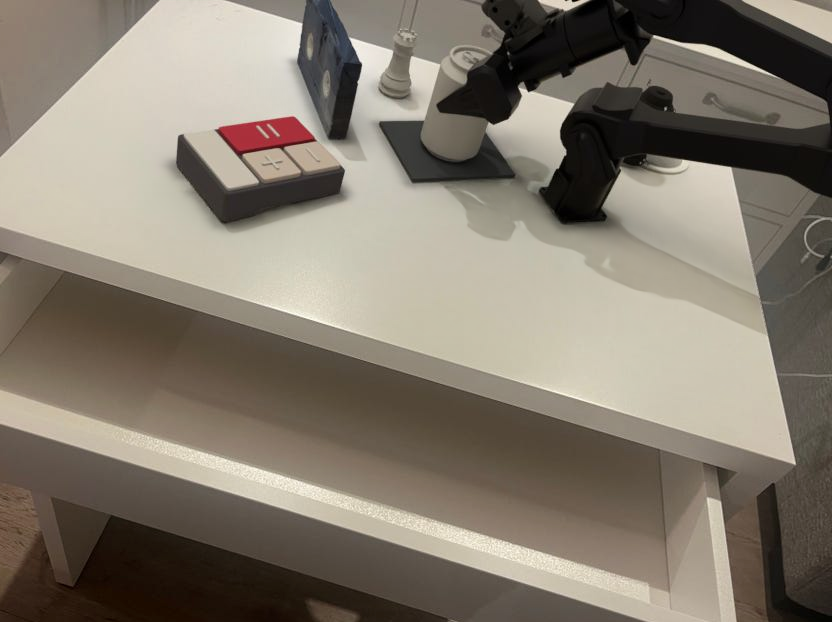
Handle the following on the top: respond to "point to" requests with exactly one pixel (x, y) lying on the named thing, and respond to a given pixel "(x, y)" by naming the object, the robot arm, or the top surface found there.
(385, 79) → the rook chess piece
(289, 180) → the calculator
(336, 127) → the vhs cassette tape
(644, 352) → the top surface
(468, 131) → the can
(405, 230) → the top surface
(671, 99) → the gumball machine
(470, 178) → the mat
